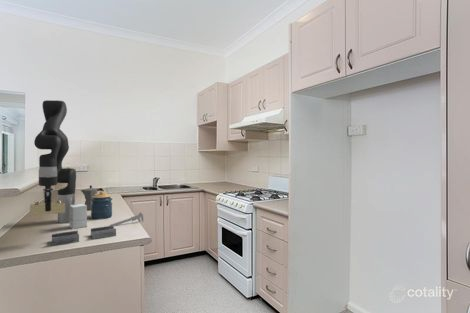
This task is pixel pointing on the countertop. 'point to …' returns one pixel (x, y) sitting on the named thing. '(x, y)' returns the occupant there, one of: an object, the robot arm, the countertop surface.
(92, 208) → the canister
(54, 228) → the countertop surface
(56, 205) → the chain link plate
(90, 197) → the coffeepot
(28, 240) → the countertop surface
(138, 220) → the caliper
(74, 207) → the supplement box
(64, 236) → the metal brackets
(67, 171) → the robot arm
